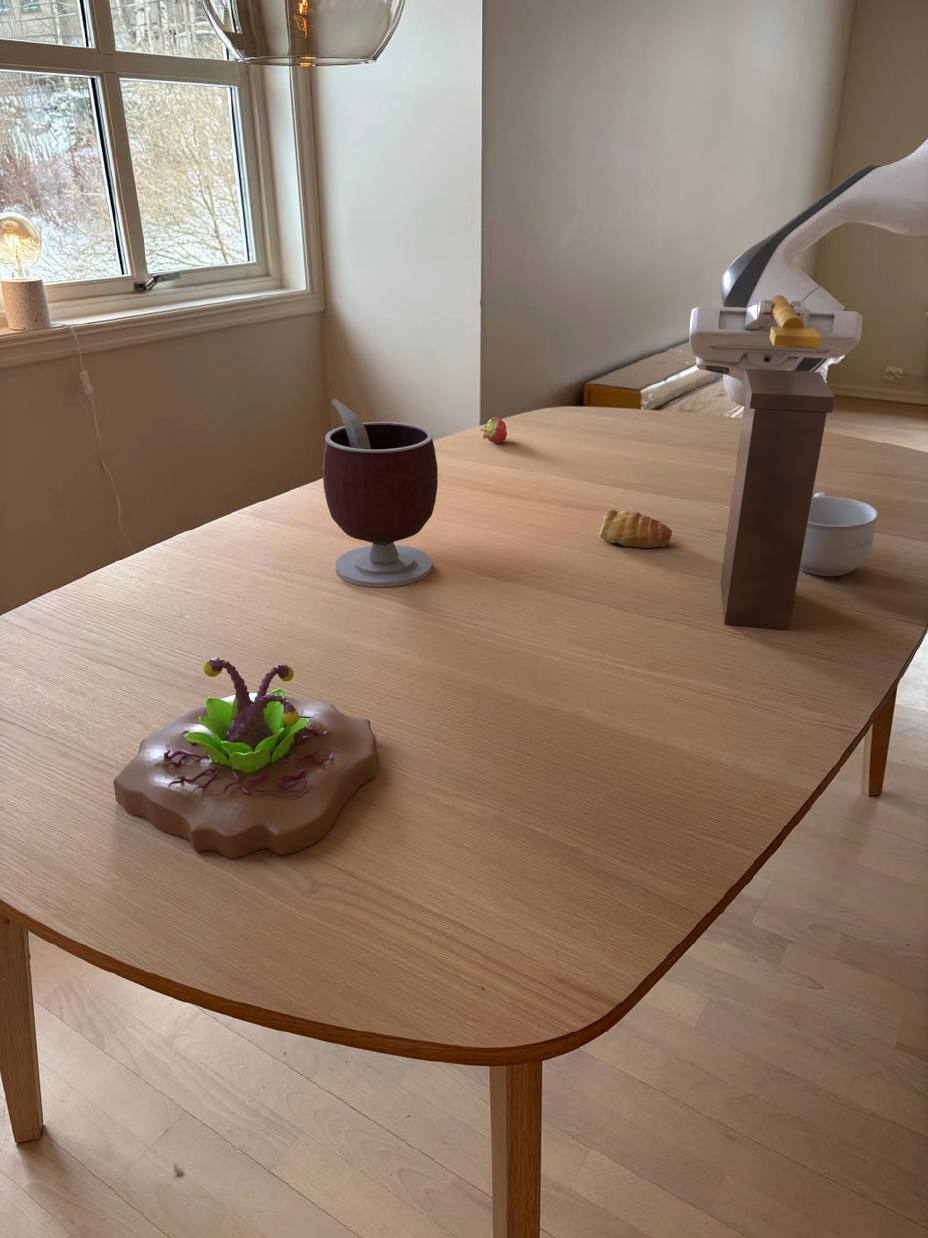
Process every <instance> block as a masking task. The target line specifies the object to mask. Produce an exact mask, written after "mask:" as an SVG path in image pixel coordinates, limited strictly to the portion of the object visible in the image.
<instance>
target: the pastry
mask: <svg viewBox="0 0 928 1238" xmlns="http://www.w3.org/2000/svg"><path fill="white" fill-rule="evenodd" d="M602 520H603V521H602V523H601V526H600V531H599V533H598V535H599V537H600V538H601V539H602V540H604V541H605V542H606V543H611V544H614V543H617V544H620V545H621V546H626V547H636V548H637V549H638V548H642V549H644V548H645V549H646V548H647V549H652V548H656V547H665V546H666V545H668V544H669V543H670V542H671V539H672V538H671V537H672V535H673V530H672V529H671V528H670V527H669V526H668V525H666V524H664V523H662V522H660V520H657V519H654V518H651V517H650V516H647V515H643V514H640V512H639V511H633V512H631V511H629V510H627V509H623V510H620V511H617V510H616V509H613V508H609V509H608V510H607V511H606V512H605V514H604V517H603V519H602Z"/></svg>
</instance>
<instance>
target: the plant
mask: <svg viewBox="0 0 928 1238" xmlns="http://www.w3.org/2000/svg"><path fill="white" fill-rule="evenodd" d="M223 669H225V670H226V672H227V674H228V675H229V676H230V680H231V681H232V683H233V688H234V690H235V694H233V695H232V694H231V695H229V696H226V697H223V698H217V697H211V696H208V697H207V698H206V699H205V701H204V703H203V704H201V705H198V706H196V707H193V708H191V709H189V710H187V711H185V712H184V713H181V714H179V715H177V716H176V717H174V718H173V719H171V720H169V721H168V722H167V723H165V724H164V725H163V726H161V727H160V728H157V729H156V730H154V731H153V732H152V733H150V734H149V735H148V736H146V737H145V738H144V739H142V740H141V742H140V744H139V748H138V752H137V754H136V755H135V756H134V758H132V759H131V760H130V761H129V762H128V763H127V765H125V767H124V768H123V769H122V770H121V771H120V772H119V773H118V775H116V777H115V778H114V779H113V787H114V789H113V790H114V795H115V802H117V803H118V804H119V805H121V807H122V808H123V809H124V810H125V811H126V812H128V813H129V814H131V815H134V816H137V817H140V818H142V819H145V820H147V821H148V822H150V824H152V825H153V826H154V827H155V828H156V829H158V830H160V831H161V832H165V833H168V834H171V835H172V836H175V837H179V838H184V839H185V840H187V841H189V842H190V844H191V845H192V848H193V850H194V851H195V852H201V851H202V852H203V851H214V852H218V853H220V854H222V855H223V856H224V857H226V858H227V859H238V858H241V857H244V856H247V855H249V854H251V853H253V852H256V851H258V850H261V849H262V850H263V849H268V850H271V851H272V852H273V853H275V854H277V855H279V856H284V855H289V854H292V853H295V852H299V851H301V850H304V849H305V848H308V847H310V846H312V845H314V844H316V843H318V842H319V841H320V840H321V839H323V838H324V837H325V836H326V835H327V834H328V832H329V831H330V830H331V828H332V827H333V825H334V824H335V822H336V821H337V817H338V816H339V814H340V811H341V810H342V808H343V807H344V805H345V804H346V803H347V801H348V800H349V799H350V798H351V797H352V796H353V795H354V794H355V793H356V792H357V790H358V789H359V788H360V787H361V786H362V785H364V783H366V782H368V781H369V780H371V779H372V778H374V777H375V775H376V773H377V758H378V747H377V738H376V737H377V736H376V735H375V733H374V731H373V730H372V727H371V721H370V719H368V718H359V717H353V716H349V715H346V714H345V713H343V712H341V711H340V710H338V709H337V707H335V706H334V704H332V703H328V702H324V701H317V700H316V701H314V700H305V699H300V698H295V697H291V696H286V695H285V694H286V693H285V691H284V690H283V689H282V688H277V689H274V690H272V691H270V692H268V689H269V688H270V684H271V683H272V680H273V679H274V678H275V676H276V675H277V676H278V678H279V679H280V680H281V681H282V682H291V681H292V680H293V678H294V676H295V671H294V669H293V668H292V667H291V666H289V665H287V664H276V666H273V667H272V669H269V671H268V672H266V674H265V676H264V677H263V678H262V679H261V684H259V686H258V690H257V692H249V691H248V686H247V685H246V684H245V683H246V681H245V679H244V678H242V676H241V675H240V674H239V671H238V670H236V669H237V668H236V667H235V665H232V664H231V663H230V662H229V661H228V660H225V659H223V658H221V657H212V658H209V659H207V660H206V662H204V664H203V672H204V674H206V676H208V677H209V678H214V677H215V678H216V677H217V676H219V675H220V674H221V673H222V671H223Z"/></svg>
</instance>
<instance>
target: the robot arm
mask: <svg viewBox="0 0 928 1238" xmlns="http://www.w3.org/2000/svg"><path fill="white" fill-rule="evenodd" d="M845 224H846V225H847V224H862V225H868V226H872V227H876V228H879V229H883V230H885V231H889V232H891V233H894V234H897V235H900V236H906V237H912V238H913V237H914V238H923V237H928V138H926V140H925V141H923V143H921V144H920V145H919V147H918V148H916V149H915V150H914V151H913V152H912V153H910V154H909V155H907V156H906V157H904V158H902V159H899V160H898V161H895V162H893V163H890V164H886V165H875V164H870V165H867V166H865V167H863V168H861V169H860V170H857V171H856V172H854V173H853V174H851V175H849V177H847V178H845V179H844V180H843V181H841V182H840V183H838V184H837V185H836V186H835V187H833V188H831V189H830V190H829V191H827V192H826V193H825V194H824V195H822V196H821V197H819V198H818V199H817V200H815V201H814V202H813V203H811V205H809V206H808V207H806V208H805V209H804V210H802V211H801V212H800V213H798V214H797V215H796V216H794V217H793V218H792V219H791V220H789V221H788V222H786V223H785V224H784V225H782V226H781V227H780V228H778V229H777V230H775V231H774V232H772V234H770V235H768V236H767V237H765V238H764V239H762V240H761V241H758V242H757V243H756V244H754V245H752V246H751V247H749V248H748V249H747V250H745V251H744V252H742V253H741V254H740V255H738V256H737V257H736V258H735V259H734V260H733V261H732V262H731V263H730V264H729V266H728V267H727V269H726V270H725V272H724V273H723V274H722V276H721V278H720V295H721V301H722V306H705V305H701V306H700V305H699V306H696V307H694V308H692V309H691V314H690V323H689V340H688V341H689V347H690V351H691V353H692V355H693V356H695V363H696V368H697V369H699V370H702V371H707V372H711V373H716V374H721V375H722V383H723V387H724V390H725V392H726V394H727V396H728V398H729V399H730V400H731V401H732V402H734V403H735V404H736V405H739V406H740V407H743V408H744V404H745V397H746V392H745V389H744V385H743V378H744V370H745V369H763V370H785V371H808V372H817V370H818V369H819V368H821V366H822V365H824V363H826V361H827V360H828V359H837V358H841V357H843V356H846V355H847V354H849V353H850V352H851V351H852V350H853V349H854V348H856V346H858V345H859V343H860V341H861V339H862V330H863V316H862V314H860V313H859V312H858V311H856V310H855V311H854V310H847V308H846V307H845V306H844V305H843V304H842V303H841V302H840V301H839V300H838V299H836V297H834V296H833V295H832V294H831V293H830V292H829V291H827V290H826V288H824V287H823V286H820V285H819V283H817V281H815V280H813V278H811V277H810V276H809V274H807V273H806V272H804V270H802V269H801V268H800V267H799V266H797V264H796V263H794V259H795V258H797V257H798V256H799V255H800V254H802V253H803V252H804V251H806V250H807V249H809V248H810V247H811V246H812V245H814V244H815V243H816V242H818V241H819V240H821V238H823V237H824V236H826V235H827V234H829V233H830V232H831V231H832V230H834V229H835V228H838V227H839V226H842V225H845ZM778 295H780V296H783V297H785V298H786V299H787V301H788V302H789V304H790V305H791V307H792V308H793V309H794V311H795V312H796V314H797V315H798V317H799V318H800V319H801V321H802V322H803V325H804V328H811V329H815V330H816V331H817V333H818V334H819V335H820V337H821V339H820V345H819V349H808V348H788V347H774V346H773V344H772V342H771V340H770V332H771V327H779V326H778V324H777V323H776V321H775V319H774V317H773V315H772V309H773V308H772V306H773V300H771V299H772V298H773V297H775V296H778Z"/></svg>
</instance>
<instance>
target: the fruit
mask: <svg viewBox="0 0 928 1238" xmlns="http://www.w3.org/2000/svg"><path fill="white" fill-rule="evenodd" d="M483 427H484V428H480V429H479V431H480V432H483V434H482V438H483V439H484V440H488V441H489V442H491V443H493V444H502V443H503V442H505V441H506V439H507V437H508V431H507V425H506V422H504V420H503V419H501V418H500V417H494V416H492V417H491V418H490V419H489V420H487V421H486V423H485V425H484V426H483Z"/></svg>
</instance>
